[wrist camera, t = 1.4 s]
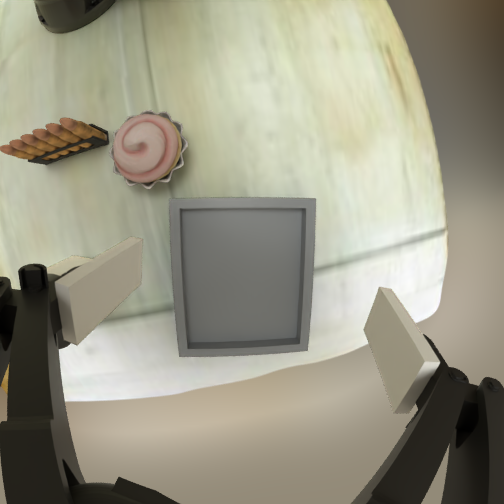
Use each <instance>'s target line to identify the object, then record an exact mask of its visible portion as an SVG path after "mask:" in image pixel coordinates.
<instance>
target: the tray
mask: <svg viewBox="0 0 504 504" xmlns="http://www.w3.org/2000/svg"><path fill="white" fill-rule="evenodd" d="M169 213H170V245H171V266H172V282H173V296H174V308H175V320H176V330H177V340H178V349H179V357H216V356H244V355H262V354H277V353H289V352H300V351H308V342H309V330H310V318H311V304H312V288H313V271H314V249H315V217H316V199H315V198H271V197H221V198H175V199H169Z"/></svg>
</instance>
